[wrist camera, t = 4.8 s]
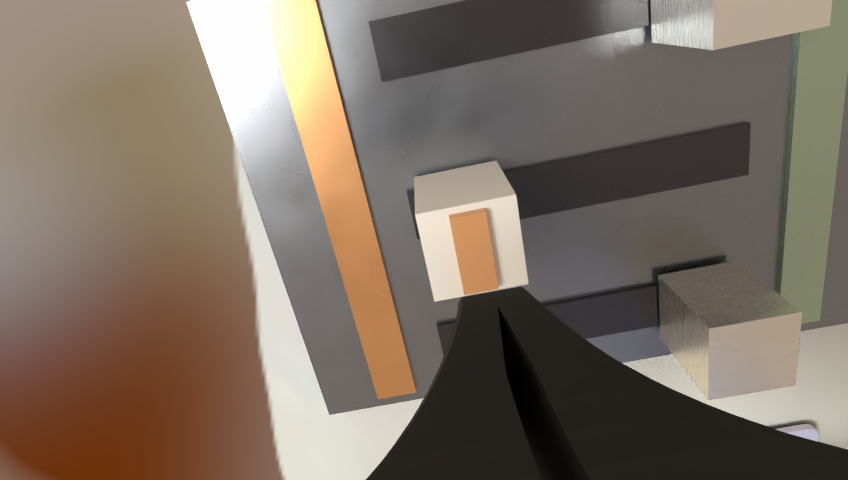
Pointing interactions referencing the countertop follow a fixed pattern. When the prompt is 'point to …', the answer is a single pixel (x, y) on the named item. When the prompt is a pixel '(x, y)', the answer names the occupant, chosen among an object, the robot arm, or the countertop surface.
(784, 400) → the countertop surface
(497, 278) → the block
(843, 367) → the countertop surface
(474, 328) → the robot arm
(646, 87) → the breaker panel
